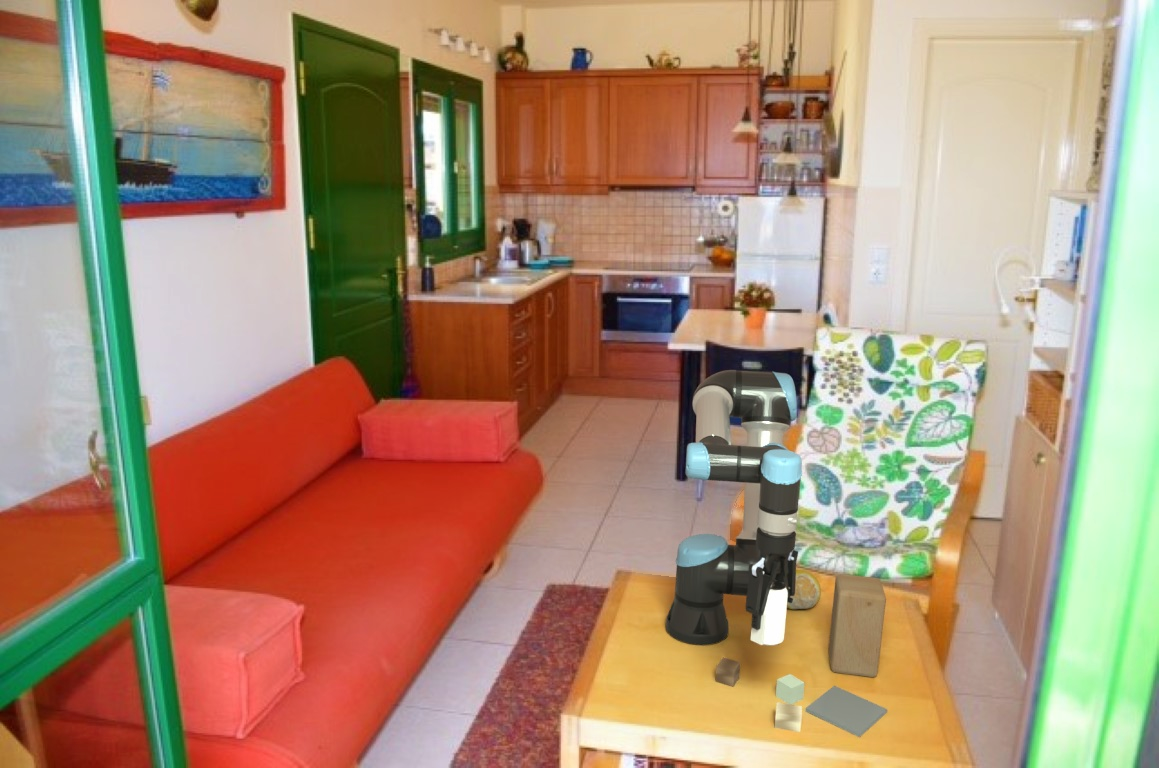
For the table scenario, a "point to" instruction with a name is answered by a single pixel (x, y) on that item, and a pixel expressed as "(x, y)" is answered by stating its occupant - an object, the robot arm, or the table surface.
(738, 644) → the table surface
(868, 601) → the wooden block
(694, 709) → the table surface
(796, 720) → the pale birch block
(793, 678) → the sage painted cube
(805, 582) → the fruit
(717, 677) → the walnut block
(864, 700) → the slate coaster
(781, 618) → the can
